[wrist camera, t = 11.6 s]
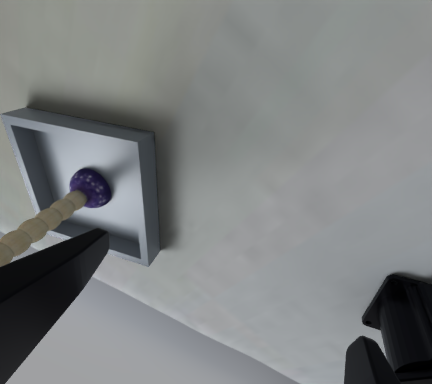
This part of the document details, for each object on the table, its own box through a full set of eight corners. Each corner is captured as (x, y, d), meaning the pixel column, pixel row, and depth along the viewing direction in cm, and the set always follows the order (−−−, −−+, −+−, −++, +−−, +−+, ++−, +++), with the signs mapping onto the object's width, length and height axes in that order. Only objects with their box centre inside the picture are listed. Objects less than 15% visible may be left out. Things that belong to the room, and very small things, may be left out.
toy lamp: (96, 159, 25) (-168, 311, 11) (125, 199, 26) (-78, 377, 13) (68, 176, 27) (-178, 319, 14) (96, 212, 29) (-102, 374, 15)
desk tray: (160, 250, 30) (148, 267, 28) (59, 220, 33) (42, 232, 31) (154, 132, 22) (137, 142, 20) (25, 107, 25) (0, 114, 23)
